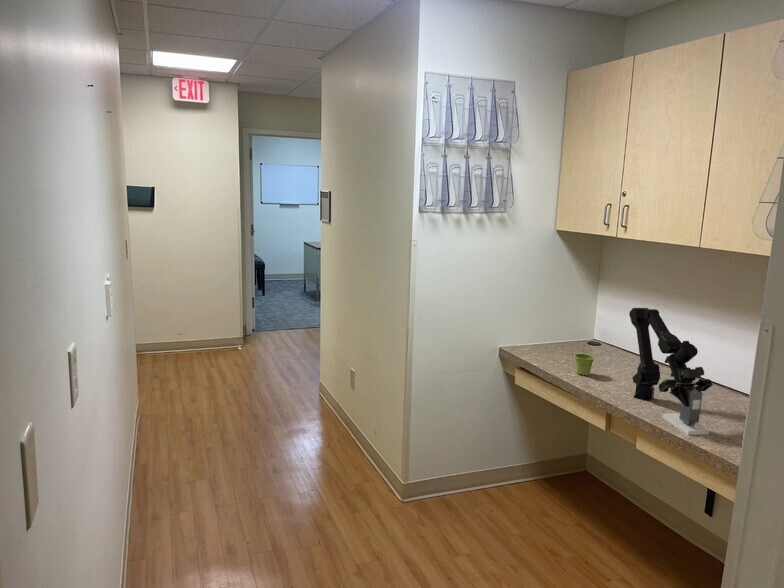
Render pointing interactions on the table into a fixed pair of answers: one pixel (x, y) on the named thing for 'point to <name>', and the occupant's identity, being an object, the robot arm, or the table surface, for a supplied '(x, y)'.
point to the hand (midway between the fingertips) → (693, 406)
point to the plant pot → (583, 363)
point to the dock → (685, 425)
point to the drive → (691, 406)
